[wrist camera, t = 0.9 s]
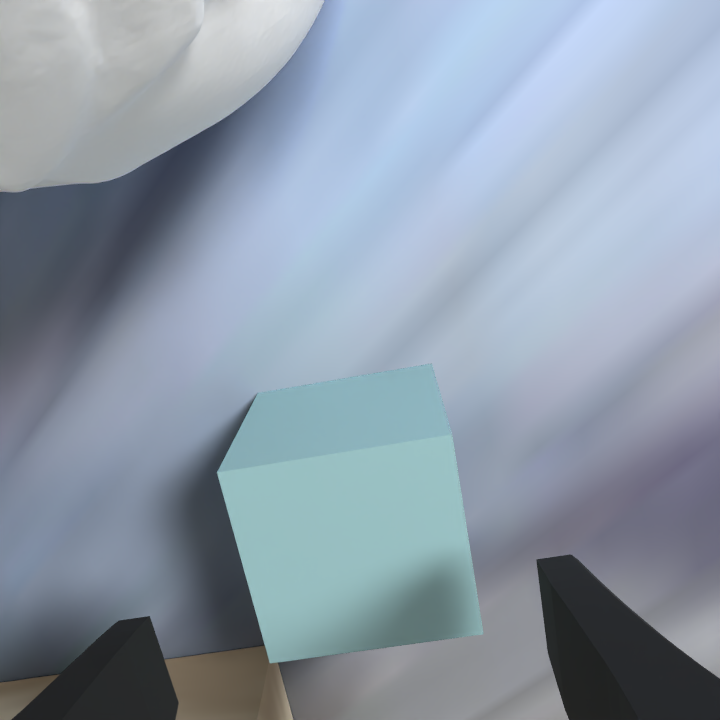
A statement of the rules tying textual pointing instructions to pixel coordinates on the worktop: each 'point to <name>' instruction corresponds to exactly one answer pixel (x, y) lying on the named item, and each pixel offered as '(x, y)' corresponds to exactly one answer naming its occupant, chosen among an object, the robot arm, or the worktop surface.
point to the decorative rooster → (129, 78)
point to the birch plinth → (196, 687)
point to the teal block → (351, 516)
